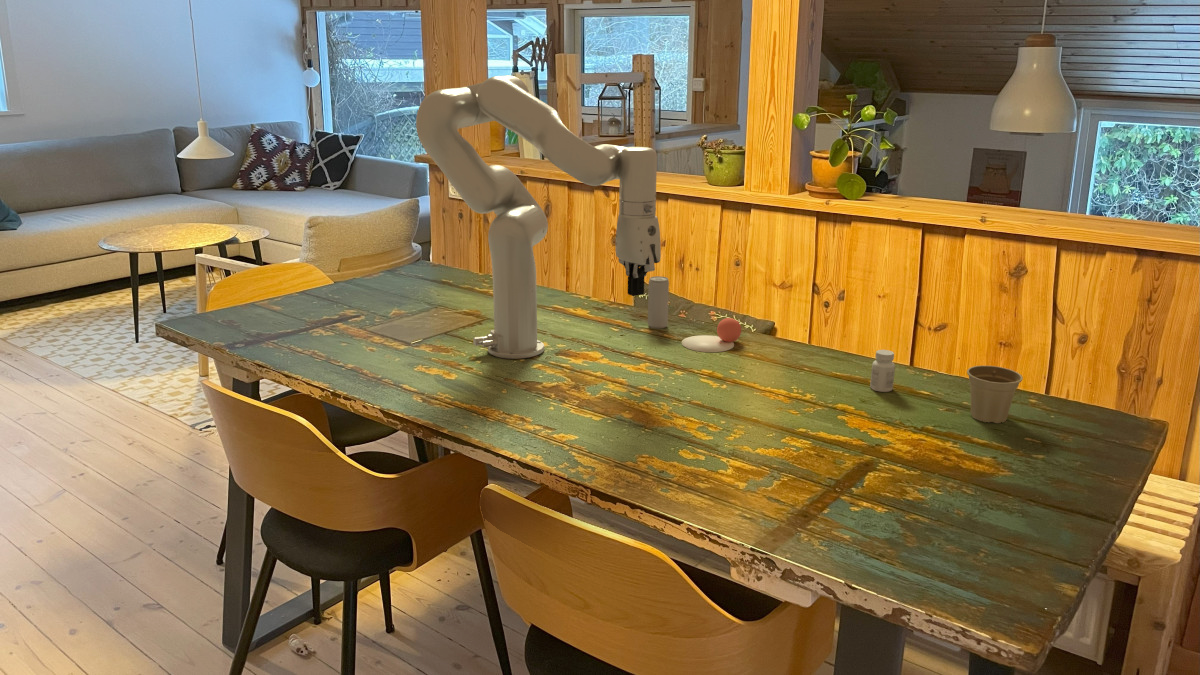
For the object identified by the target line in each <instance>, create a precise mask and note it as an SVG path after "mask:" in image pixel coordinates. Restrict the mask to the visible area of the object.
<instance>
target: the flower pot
mask: <svg viewBox="0 0 1200 675" xmlns="http://www.w3.org/2000/svg"><path fill="white" fill-rule="evenodd" d="M966 374H967V376H968V381H969V384H970V387H969V388H970V414H971V417H972V418H973V419H975V420H977V421H980V422H982V421H983V423H986V422H988V423H994V424H1002V423H1004V422H1006V421H1007V419H1008V415H1009V412H1010V409H1011V406H1012V402H1013V399H1014V396H1015V393H1016V390H1017V389H1018V387H1019V386H1020V383H1022V381H1023V380H1024V379H1023V374H1020V373H1019V372H1018V371H1015V370H1013V369H1010V368H1006V367H1003V366H1002V367H1001V366H997V365H996V366H995V365H974V366H972V367H971V366H970V367H969V368H968V369H967V371H966ZM1001 422H1002V423H1001Z"/></svg>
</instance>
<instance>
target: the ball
mask: <svg viewBox="0 0 1200 675" xmlns="http://www.w3.org/2000/svg"><path fill="white" fill-rule="evenodd" d="M716 333H717V336H718V337H720V339H722V340H723V341H725V342H733V343H734V342H735V341H737V340H738V339H739V338H740V336H741V333H742V326H741V323H740V322H739V321H738V320H737V319H735V318H734V317H733V318H731V317H726V318H723V319H722V320H720V321H719V323H718V325H717V327H716Z"/></svg>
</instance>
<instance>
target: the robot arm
mask: <svg viewBox="0 0 1200 675" xmlns="http://www.w3.org/2000/svg"><path fill="white" fill-rule="evenodd" d="M489 122H497V123H498V124H500V125H501V126H503V127H504V128H506V129H507V130H509V131H510V132H512V133H515V135H517V136H519V137H520V138H522V139H523V140H525V141H527V142H528V143H529V144H531V145H533V146H534V147H535V148H536V149H537V151H538V152H539V153H540V154H542V155H543V156H544V157H545V158H546V159H547V161H549V162H550V163H551V164H553V165H554V166H556V167H557V168H558V169H560V170H561V171H562V172H564V173H566V174H567V175H569V176H571V177H572V178H574V179H575V180H577V181H578V182H580V183H582V184H584V185H588V186H592V187H598V186H601V185H604V184H606V183H608V182H611V181H614V180H619V188H618V189H619V190H618V192H619V193H618V194H619V197H618V198H619V200H618V208H619V209H618V217H617V222H616V231H615V256H616V257H617V258H618V262H619V263H620V264H621V265H622V266H623V267H624V269H625V275H626V276H627V295H629V296H632V297H636V296H642V295H644V294H645V277H647V274H648V273H649V272H654V271H655V269H656V267H655V264H658V263H660V262H661V258H662V257H661V255H662V254H661V253H662V252H661V248H662V247H661V244H662V243H661V230H660V224H659V222H660V221H659V219H658V218H659V217H658V216H657V215H656V212H657V207H656V206H657V204H656V202H657V174H658V173H657V170H658V169H657V168H658V166H657V165H658V154H657V152H656V150H655V149H653V148H652V147H647V146H629V147H626V146H620V145H615V144H610V143H609V144H607V143H605V144H598V145H596V146H593V145H591V144H590V143H588V142H587V141H585V140H583V139H582V138H581V137H579V136H577V135H576V134H574V133H573V132H572V131H571V130H569V129H568V128H567V127H566V126H565V124H564V123H563V121H562V119H561V117H560V115H559V112H558V111H557V110H556V109H555V108H553V107H552V106H551V105H549V104H547V103H546V102H544V101H542V100H541V99H539V98H538V97H536V96H535V95H533V94H531V93H530V92H529V88H528V86H527V84H525V82H524V81H523V80H522V79H520V78H518V77H517V76H514V75H506V74H505V75H495V76H491V77H489V78H487V79H485V80H484V81H483V82H480V83H479V82H478V83H476V84H472V85H471V84H470V85H466V86H461V87H453V88H441V89H438V90H435V91H433V92H431V93H429V94H427V95H426V96H425V97H424V98H423V100H422V101H421V103H420V105H419V106H418V109H417V113H416V119H415V126H416V128H415V129H416V132H417V137H418V139H419V141H420V144H421V145H422V147H423V148H424V150H425V152H426V153H427V155H428V156H429V157H430V158H431V159H432V161H433V162H434V163H435V165H437V167H438V168H439V169H440V171H441V172H442V173H443V175H444V176H445V178H446V179H447V181H448V182H449V183H450V185H451V186H452V187H453V188H454V189H455V191H456V192H457V194H459V196H460V198H461V199H462V200H463V202H464V203H465V204H466V206H468V208H469V209H470V210H471V211H473V212H474V213H477V214H482V215H483V214H485V215H486V214H489V213H491V212H493V213H494V214H495V216H496V217H495V218H494V219H493V220H492V221H491V223H490V226H489V229H488V233H487V234H488V235H487V237H488V238H487V240H488V241H487V242H488V247H489V252H490V258H491V259H490V260H491V270H492V289H493V290H492V293H493V297H492V298H493V326H494V329H491V330H490V331H489V332H490V333H489V334H486V336H475V337H474V336H473V338H472V341H473V342H472V343H473V345H474V346H475V347H478V346H482V347H483V348H487V352H488V353H489V354H490V355H492V356H494V357H497V358H500V359H501V358H502V359H511V360H512V359H514V360H515V359H516V360H517V359H527V358H528V359H529V358H533V357H535V356H536V357H537V356H539V355H540V354H542V353H543V352H544V351H545V343H543V342H542V341H541V340H539V339H538V309H537V308H538V307H537V306H538V305H537V303H538V298H537V296H538V295H537V289H538V288H537V286H538V285H537V266H536V259H535V254H534V246H536V245H537V244H539V243H540V242H541V241H542V240H544V238H545V237H546V235H547V233H548V228H549V222H548V219H547V216H546V213H545V212H544V210H543V208H542V207H541V206H540V205H539V203H538V202H537V200H536V199H535V198H534V197H533V195H532V194H531V193H530V192H529V190H528V189H527V188H526V186H525V185H524V184H523V182H522V181H521V179H520V178H519V177H518V176H517V175H516V174H515V173H514V172H513V171H512V170H510V169H509V168H508V167H506V166H503V165H501V164H500V165H499V164H491V165H488V164H487V163H486V162H485V161H484V159H483V158H482V157H481V156H480V155H479V153H478V151H477V150H476V149H475V147H474V146H473V145H472V144H471V143H470V142H469V141H468V140H466V139H465V138H464V137H463V136H462V135H461V133H460V132H459V129H464V128H469V127H473V126H476V125H480V124H485V123H489Z"/></svg>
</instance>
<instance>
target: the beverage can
mask: <svg viewBox="0 0 1200 675" xmlns="http://www.w3.org/2000/svg"><path fill="white" fill-rule="evenodd" d="M669 286H670V281H669V278H668V277H666V276H659V275H658V276H651V277H649V280H648V298H647V299H648V300H647V301H648V302H647V303H648V304H647V305H648V306H647V307H648V308H647V325H648V327H649V328H651V329H655V328H656V329H658V330H659V329H660V330H661V328H662V329H665V328H666V327H667V326H668V323H669V322H668V319H669V316H668V315H669V290H670V288H669Z"/></svg>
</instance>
